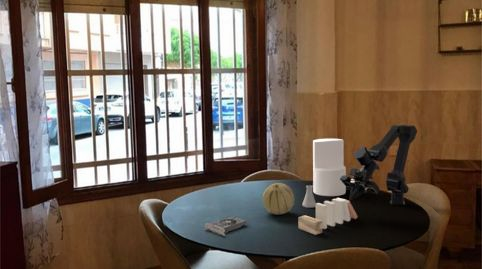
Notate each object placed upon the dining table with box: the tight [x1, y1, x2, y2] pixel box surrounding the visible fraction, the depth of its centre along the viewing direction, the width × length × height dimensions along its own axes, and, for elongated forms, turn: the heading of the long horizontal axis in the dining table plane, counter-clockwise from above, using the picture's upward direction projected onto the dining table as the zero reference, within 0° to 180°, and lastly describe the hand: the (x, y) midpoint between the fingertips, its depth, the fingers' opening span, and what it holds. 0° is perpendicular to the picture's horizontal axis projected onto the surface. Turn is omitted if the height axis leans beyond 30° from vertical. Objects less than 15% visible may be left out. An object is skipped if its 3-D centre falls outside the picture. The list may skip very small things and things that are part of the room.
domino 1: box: [315, 202, 328, 230], centre depth 204 cm, size 2×5×10 cm, turn 36°
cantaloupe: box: [262, 182, 295, 216], centre depth 224 cm, size 15×15×15 cm
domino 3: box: [331, 198, 344, 225], centre depth 210 cm, size 2×5×10 cm, turn 36°
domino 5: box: [346, 199, 358, 220], centre depth 214 cm, size 2×5×10 cm
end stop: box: [297, 215, 323, 236], centre depth 201 cm, size 4×10×5 cm, turn 36°
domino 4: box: [335, 197, 352, 222], centre depth 212 cm, size 2×5×10 cm, turn 36°
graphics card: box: [204, 216, 247, 237], centre depth 207 cm, size 17×4×12 cm
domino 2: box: [323, 200, 336, 227], centre depth 207 cm, size 2×5×10 cm, turn 37°
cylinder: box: [312, 138, 347, 197], centre depth 259 cm, size 17×17×28 cm
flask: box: [301, 185, 316, 209], centre depth 236 cm, size 7×7×10 cm
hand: (350, 199), depth 215 cm, fingers closed
